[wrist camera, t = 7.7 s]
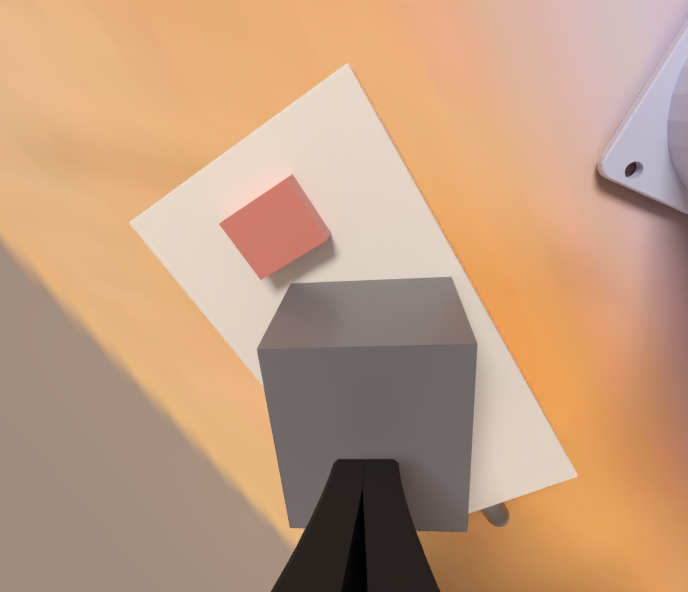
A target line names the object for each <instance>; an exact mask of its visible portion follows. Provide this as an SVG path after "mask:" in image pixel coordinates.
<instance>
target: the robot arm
mask: <svg viewBox="0 0 688 592" xmlns="http://www.w3.org/2000/svg"><path fill="white" fill-rule="evenodd" d="M632 162H635V163H636V167H637V168H636V170H635V172H634V173H633V174H632V175H631V176H629V177H626V176H625V169H626V167H627V166H628V165H629V164H630V163H632ZM597 169H598V171H599V174H600V175H601V176H603V177H604V178H606V179H608V180H611V181H613V182H615V183H617V184H620V185H622V186H624V187H626V188H629V189H631V190H633V191H635V192H638V193H640V194H642V195H645V196H647V197H649V198H651V199H654V200H656V201H658V202H660V203H663V204H665V205H667V206H669V207H672V208H674V209H676V210H678V211H681V212H683V213H685V214H688V18H687V19H686V21H685V23H684V24H683V26H682V27H681V29H680V31H679V32H678V34H677V35H676V37H675V38H674V40H673V42H672V43H671V45H670V46H669V48H668V50H667V51H666V53H665V54H664V56H663V58H662V59H661V61H660V62H659V64H658V65H657V67H656V69H655V70H654V72H653V73H652V75H651V77H650V78H649V80H648V81H647V83H646V84H645V86H644V88H643V89H642V91H641V92H640V94H639V96H638V97H637V99H636V100H635V102H634V104H633V105H632V107H631V108H630V110H629V111H628V113H627V115H626V116H625V118H624V119H623V121H622V123H621V124H620V126H619V127H618V129H617V131H616V132H615V134H614V135H613V137H612V138H611V140H610V142H609V143H608V145H607V146H606V148H605V150H604V151H603V153H602V154H601V156H600V158H599V160H598V166H597ZM271 592H440V590H439V588H438V585H437V583H436V581H435V579H434V576H433V574H432V571H431V569H430V566H429V564H428V562H427V559H426V556H425V554H424V551H423V548H422V546H421V543H420V540H419V538H418V535H417V532H416V530H415V527H414V524H413V521H412V518H411V515H410V512H409V508H408V505H407V502H406V498H405V495H404V491H403V487H402V482H401V477H400V471H399V463H398V462H397V461H396V460H394V459H366V461H365V459H337V460H336V461H335V462H334V463H333V466H332V469H331V472H330V475H329V477H328V480H327V483H326V485H325V487H324V490H323V492H322V495H321V497H320V499H319V501H318V504H317V506H316V508H315V510H314V512H313V514H312V517H311V519H310V521H309V522H308V524H307V526H306V528H305V530H304V532H303V534H302V536H301V538H300V540H299V542H298V544H297V546H296V548H295V550H294V552H293V554H292V556H291V557H290V559H289V561H288V563H287V565H286V567H285V568H284V570H283V571H282V573H281V575H280V577H279V579H278V580H277V582H276V584H275V585H274V587H273V589H272V591H271Z"/></svg>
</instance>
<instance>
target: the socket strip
mask: <svg viewBox="0 0 688 592" xmlns="http://www.w3.org/2000/svg"><path fill="white" fill-rule="evenodd" d="M129 223H130V225H131V226H132V227H133V228H134V229H135V231H136V232H137V233H138V234H139V235H140V237H141V238H142V239H143V240H144V242H145V243H146V244H147V245H148V246H149V248H150V249H151V250H152V251H153V253H154V254H155V255H156V256H157V257H158V259H159V260H160V261H161V262H162V264H163V265H164V266H165V267H166V268H167V270H168V271H169V272H170V273H171V275H172V276H173V277H174V278H175V279H176V281H177V282H178V283H179V284H180V286H181V287H182V288H183V289H184V290H185V292H186V293H187V294H188V295H189V297H190V298H191V299H192V300H193V301H194V303H195V304H196V305H197V306H198V308H199V309H200V310H201V311H202V312H203V314H204V315H205V316H206V317H207V319H208V320H209V321H210V322H211V323H212V325H213V326H214V327H215V328H216V330H217V331H218V332H219V333H220V334H221V336H222V337H223V338H224V339H225V340H226V342H227V343H228V344H229V345H230V347H231V348H232V349H233V350H234V351H235V353H236V354H237V355H238V356H239V358H240V359H241V360H242V361H243V362H244V364H245V365H246V366H247V367H248V369H249V370H250V371H251V372H252V373H253V375H254V376H255V377H256V378H257V380H258V381H259V382H260V383H261V384H262V386H263V387H264V385H263V380H262V375H261V369H260V364H259V359H258V353H257V347H258V346H259V344H260V342H261V340H262V338H263V336H264V334H265V332H266V330H267V328H268V326H269V324H270V322H271V320H272V318H273V317H274V315H275V313H276V311H277V309H278V307H279V305H280V303H281V301H282V299H283V297H284V295H285V293H286V291H287V289H288V288H289V286H290V284H291V283H311V282H335V281H359V280H383V279H407V278H432V277H452V279H453V282H454V285H455V287H456V290H457V292H458V295H459V297H460V300H461V303H462V305H463V308H464V310H465V313H466V315H467V318H468V321H469V323H470V326H471V328H472V331H473V333H474V336H475V339H476V341H477V362H476V380H475V399H474V417H473V436H472V454H471V473H470V491H469V510H468V514H469V513H472V512H475V511H478V510H482V512H483V513H484V515H485V516H486V518H487V519H488V520H489V522H490V523H491V524H493V525H494V526H497V527H502V526H504V525H506V524H507V523H508V521H509V512H508V510H507V508H506V507H505V505H504V504H503V502H504V501H507V500H510V499H513V498H516V497H519V496H522V495H525V494H528V493H531V492H534V491H537V490H540V489H542V488H545V487H548V486H551V485H554V484H557V483H560V482H563V481H566V480H569V479H572V478H575V477H578V475H577V473H576V471H575V469H574V467H573V465H572V463H571V461H570V459H569V457H568V456H567V454H566V452H565V450H564V448H563V446H562V444H561V442H560V440H559V438H558V436H557V434H556V433H555V431H554V429H553V427H552V425H551V423H550V422H549V420H548V418H547V416H546V414H545V413H544V411H543V409H542V407H541V405H540V404H539V402H538V400H537V398H536V396H535V395H534V393H533V391H532V389H531V387H530V386H529V384H528V382H527V380H526V378H525V377H524V375H523V373H522V371H521V369H520V368H519V366H518V364H517V362H516V361H515V359H514V357H513V355H512V353H511V352H510V350H509V348H508V346H507V344H506V343H505V341H504V339H503V337H502V335H501V334H500V332H499V330H498V328H497V326H496V325H495V323H494V321H493V319H492V317H491V316H490V314H489V312H488V310H487V308H486V307H485V305H484V303H483V301H482V299H481V298H480V296H479V294H478V292H477V290H476V289H475V287H474V285H473V283H472V281H471V280H470V278H469V276H468V274H467V273H466V271H465V269H464V267H463V265H462V264H461V262H460V260H459V258H458V256H457V255H456V253H455V251H454V249H453V247H452V246H451V244H450V242H449V240H448V238H447V237H446V235H445V233H444V231H443V229H442V228H441V226H440V224H439V222H438V220H437V219H436V217H435V215H434V213H433V211H432V210H431V208H430V206H429V204H428V202H427V201H426V199H425V197H424V195H423V194H422V192H421V190H420V188H419V186H418V185H417V183H416V181H415V179H414V177H413V176H412V174H411V172H410V170H409V168H408V167H407V165H406V163H405V161H404V159H403V158H402V156H401V154H400V152H399V150H398V149H397V147H396V145H395V143H394V141H393V140H392V138H391V136H390V134H389V132H388V131H387V129H386V127H385V125H384V123H383V122H382V120H381V118H380V116H379V115H378V113H377V111H376V109H375V107H374V106H373V104H372V102H371V100H370V98H369V97H368V95H367V93H366V91H365V89H364V88H363V86H362V84H361V82H360V80H359V79H358V77H357V75H356V73H355V71H354V70H353V69H352V67H351V66H350V65H349V64H348V63H346V64H345V65H344V66H342V67H341V68H340V69H338V70H337V71H336V72H334V73H333V74H331V75H330V76H329V77H327V78H326V79H325V80H323V81H322V82H320V83H319V84H318V85H316V86H315V87H314V88H312V89H311V90H310V91H308V92H307V93H305V94H304V95H303V96H301V97H300V98H299V99H297V100H296V101H294V102H293V103H292V104H290V105H289V106H288V107H286V108H285V109H284V110H282V111H281V112H279V113H278V114H277V115H275V116H274V117H273V118H271V119H270V120H268V121H267V122H266V123H264V124H263V125H262V126H260V127H259V128H258V129H256V130H255V131H253V132H252V133H251V134H249V135H248V136H247V137H245V138H244V139H242V140H241V141H240V142H238V143H237V144H236V145H234V146H233V147H232V148H230V149H229V150H227V151H226V152H225V153H223V154H222V155H221V156H219V157H218V158H216V159H215V160H214V161H212V162H211V163H210V164H208V165H207V166H205V167H204V168H203V169H201V170H200V171H199V172H197V173H196V174H195V175H193V176H192V177H190V178H189V179H188V180H186V181H185V182H184V183H182V184H181V185H179V186H178V187H177V188H175V189H174V190H173V191H171V192H170V193H169V194H167V195H166V196H164V197H163V198H162V199H160V200H159V201H158V202H156V203H155V204H153V205H152V206H151V207H149V208H148V209H147V210H145V211H144V212H143V213H141V214H140V215H138V216H137V217H136V218H134V219H133V220H132V221H130V222H129ZM416 532H417V531H416Z"/></svg>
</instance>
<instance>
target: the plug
mask: <svg viewBox="0 0 688 592" xmlns="http://www.w3.org/2000/svg"><path fill="white" fill-rule="evenodd" d="M257 353H258V359H259V364H260V369H261V375H262V380H263V385H264V391H265V396H266V402H267V407H268V412H269V418H270V423H271V428H272V434H273V439H274V444H275V450H276V455H277V461H278V466H279V471H280V477H281V482H282V487H283V493H284V498H285V503H286V509H287V514H288V520H289V525H290V528H306V526H307V524H308V522H309V521H310V519H311V517H312V514H313V512H314V510H315V508H316V506H317V504H318V501H319V499H320V497H321V495H322V492H323V490H324V487H325V485H326V483H327V480H328V477H329V475H330V472H331V469H332V466H333V463H334V462H335V461H336V460H337V459H365V461H366V459H394V460H396V461H397V462H398V463H399V471H400V477H401V482H402V487H403V491H404V495H405V498H406V502H407V505H408V508H409V512H410V515H411V518H412V521H413V524H414V527H415V530H416V531H451V532H467V528H468V510H469V491H470V473H471V454H472V436H473V417H474V399H475V380H476V362H477V341H476V339H475V336H474V333H473V331H472V328H471V326H470V323H469V321H468V318H467V315H466V313H465V310H464V308H463V305H462V303H461V300H460V297H459V295H458V292H457V290H456V287H455V285H454V282H453V279H452V277H432V278H407V279H383V280H359V281H335V282H311V283H291V284H290V286H289V288H288V289H287V291H286V293H285V295H284V297H283V299H282V301H281V303H280V305H279V307H278V309H277V311H276V313H275V315H274V317H273V318H272V320H271V322H270V324H269V326H268V328H267V330H266V332H265V334H264V336H263V338H262V340H261V342H260V344H259V346H258V347H257Z"/></svg>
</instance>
